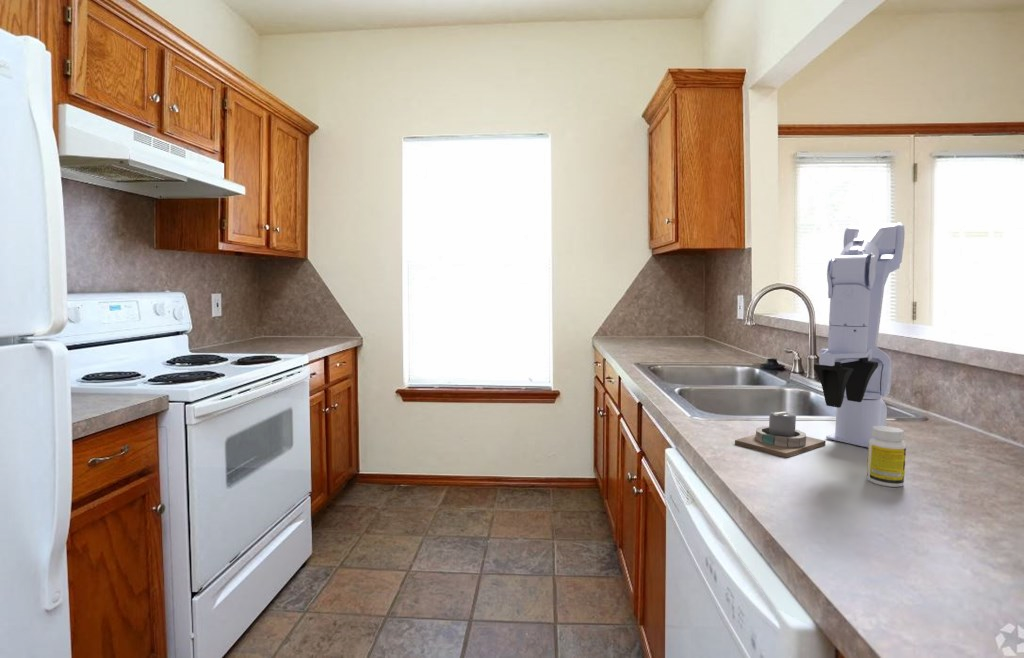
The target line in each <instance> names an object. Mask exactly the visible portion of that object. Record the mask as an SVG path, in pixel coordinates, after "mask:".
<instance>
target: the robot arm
mask: <svg viewBox="0 0 1024 658" xmlns="http://www.w3.org/2000/svg"><path fill="white" fill-rule="evenodd" d="M904 247H905V225H904V224H903V223H902V222H897V223H886V224H885V223H882V224H869V225H855V226H853V225H848V226H847V227H846V229H845V230H844V235H843V250H842V251H841V253H840V254H839V255H835V256H834V258H833V259H832V258H830V259H829V260H828V264H827V270H826V281H827V288H828V291H827V293H828V294H827V295H828V296H827V297H828V299H829V316H828V317H829V318H828V336H827V337H828V339H827V348H821V349H820V353H819V362H816V363H813V370H814V372H815V374H816V375H817V376H818V379H819V381H820V384H821V388H822V393H823V396H824V401H825V405H826V406H827V407H831V408H836V410H835V411H836V413H835V431H834V433H831V434H829V435H826V436H825V438H826V439H827V440H833V441H836V442H841V443H846V444H849V445H855V446H859V447H864V448H868V446H869V440H870V439H871V438H874V437H873V436H872V428H873V427H874V426H887V414H888V413H887V412H888V409H887V408H888V407H887V405H886V403H885V401H884V400H883V399H882V398H883V397H887V396H888V395H890V393H891V387H892V376H893V375H892V373H893V372H892V371H893V369H892V366H893V364H892V359H891V357H890V356H889V354H888V353H886V352H885V351H884V350H882V349H881V348H879V347H878V341H879V340H878V339H879V333H880V324H881V317H882V309H883V308H882V307H883V301H884V291H885V285H886V282H887V281H888V277H889V276H890V274H891V273H892V272H894V271H895V272H896V271H897V270H899V269H900V266H901V263H902V262H903V254H904V253H903V252H904Z"/></svg>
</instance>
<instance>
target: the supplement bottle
mask: <svg viewBox="0 0 1024 658" xmlns="http://www.w3.org/2000/svg"><path fill="white" fill-rule="evenodd" d="M904 433H905V432H904V430H903V429H902V428H898V427H894V426H887V425H886V426H874V427H873V428H872V436H873V437H874V438H871V439H870V440H869V446H868V447H867V448H868V449H867V451H868V452H867V465H866V479H867V480H868V481H869V482H871V483H872V484H873V483H874V484H875V485H879V486H883V487H888V488H889V487H890V488H891V487H892V488H899V487H902V486H904V484H905V474H906V473H905V471H906V469H905V468H906V456H907V455H906V454H907V445H906V444H905V442H903V441H904V439H905V434H904Z"/></svg>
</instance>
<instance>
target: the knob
mask: <svg viewBox="0 0 1024 658" xmlns="http://www.w3.org/2000/svg"><path fill="white" fill-rule="evenodd" d="M768 416H769V418H768V419H769V420H768V426H769V434H770V435H774V436H782V437H795V430H796V422H797V421H796V419H797V415H796V414H794V413H790V412H788V411H771V412H769V415H768Z"/></svg>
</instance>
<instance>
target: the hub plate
mask: <svg viewBox="0 0 1024 658" xmlns="http://www.w3.org/2000/svg"><path fill="white" fill-rule="evenodd" d="M826 442H827V441H826V440H825V439H820V438H814V437H811V436H807V435H806V433H805V432H803V431H801V430H799V429H795V437H782V436H774V435H770V434H769V425H768V426H766V425H765V426H759V427H756V429H755V434H752V435H748V436H744V437H742V438H737V439H734V445H737V446H740V447H745V448H748V449H752V450H755V451H759V452H763V453H767V454H771V455H775V456H779V457H782V458H789V457H792V456H796V455H798V454H802V453H806V452H808V451H811V450H815V449H817V448H820V447H824V446H826Z"/></svg>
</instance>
